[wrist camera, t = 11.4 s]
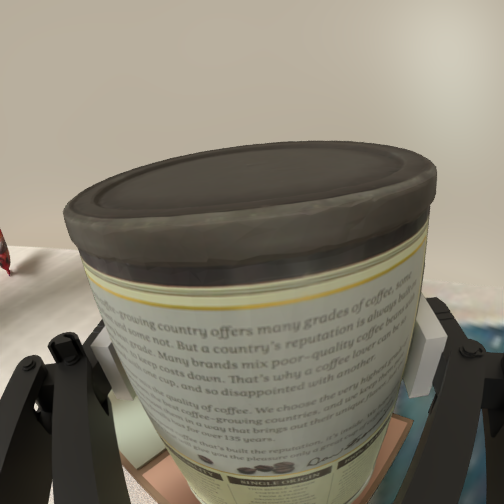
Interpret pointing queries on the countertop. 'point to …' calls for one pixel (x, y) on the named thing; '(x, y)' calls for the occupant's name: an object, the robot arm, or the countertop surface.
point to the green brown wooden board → (169, 475)
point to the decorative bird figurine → (4, 254)
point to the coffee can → (263, 307)
